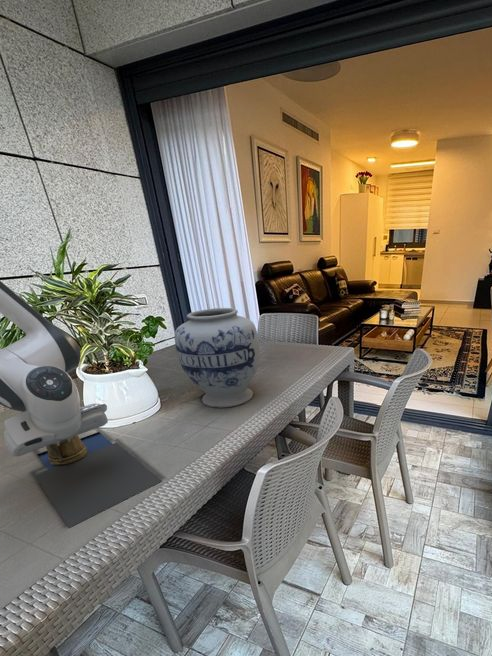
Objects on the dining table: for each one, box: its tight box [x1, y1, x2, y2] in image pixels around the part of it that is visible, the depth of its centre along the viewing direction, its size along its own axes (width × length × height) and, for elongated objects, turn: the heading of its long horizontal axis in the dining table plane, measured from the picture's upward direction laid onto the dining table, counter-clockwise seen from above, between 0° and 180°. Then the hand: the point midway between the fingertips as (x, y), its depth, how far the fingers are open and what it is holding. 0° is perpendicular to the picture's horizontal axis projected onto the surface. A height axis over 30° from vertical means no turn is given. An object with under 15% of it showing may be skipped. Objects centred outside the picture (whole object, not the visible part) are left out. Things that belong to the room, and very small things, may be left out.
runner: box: [33, 442, 163, 529], centre depth 86 cm, size 20×28×1 cm
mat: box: [36, 431, 114, 470], centre depth 100 cm, size 16×14×1 cm
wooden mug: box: [45, 435, 87, 465], centre depth 89 cm, size 9×14×18 cm, turn 12°
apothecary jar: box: [174, 307, 261, 409], centre depth 119 cm, size 27×27×30 cm
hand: (62, 441), depth 89 cm, fingers closed
